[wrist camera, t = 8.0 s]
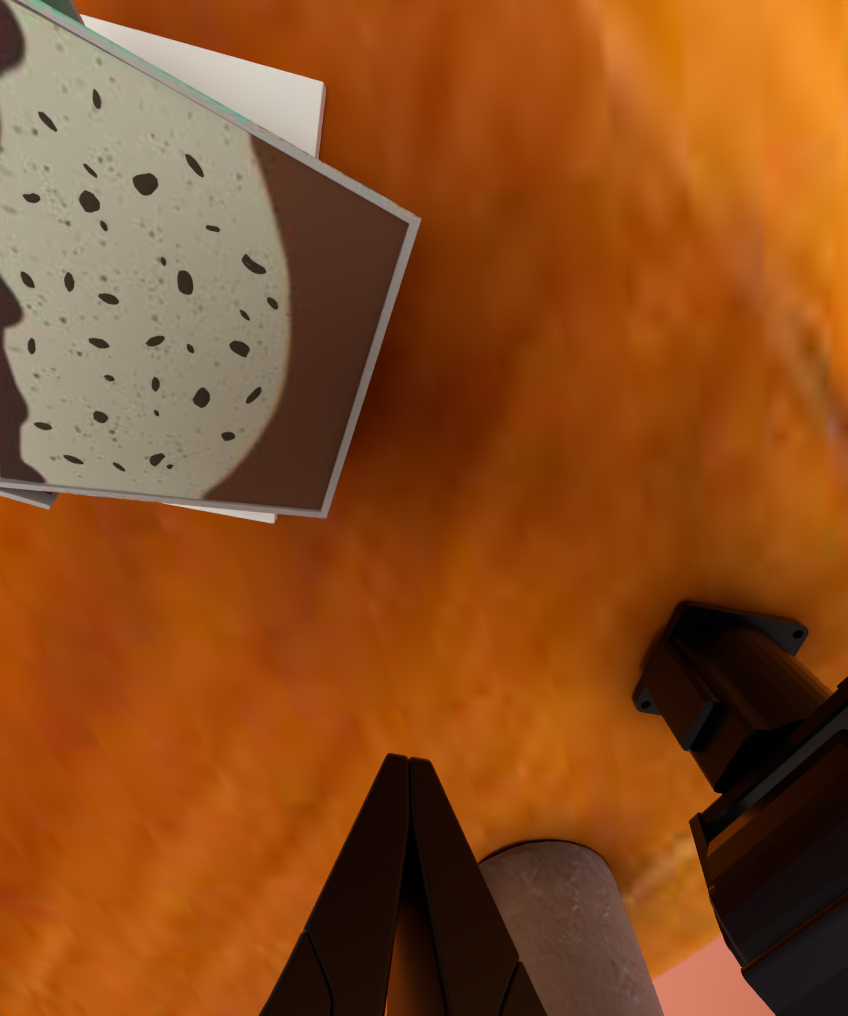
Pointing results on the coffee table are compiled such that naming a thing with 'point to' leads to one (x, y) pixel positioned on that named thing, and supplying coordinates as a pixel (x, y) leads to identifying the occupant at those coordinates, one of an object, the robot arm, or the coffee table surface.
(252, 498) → the food container
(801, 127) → the coffee table surface
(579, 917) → the pillar candle
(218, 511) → the white flat rectangular board
